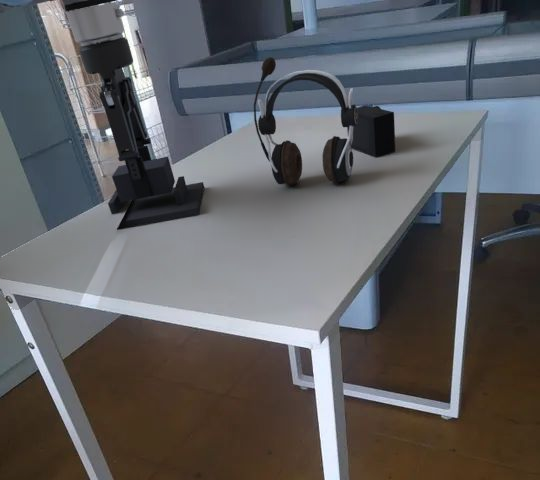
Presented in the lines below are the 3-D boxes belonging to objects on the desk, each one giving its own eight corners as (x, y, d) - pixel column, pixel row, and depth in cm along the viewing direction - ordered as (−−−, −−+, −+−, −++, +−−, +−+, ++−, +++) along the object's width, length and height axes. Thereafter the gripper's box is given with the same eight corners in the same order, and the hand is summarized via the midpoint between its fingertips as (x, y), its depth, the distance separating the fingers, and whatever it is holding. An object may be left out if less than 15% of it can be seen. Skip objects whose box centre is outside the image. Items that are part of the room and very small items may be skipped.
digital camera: (401, 150, 101) (400, 109, 97) (376, 157, 100) (373, 117, 96) (372, 140, 109) (370, 103, 105) (348, 147, 108) (345, 110, 104)
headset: (258, 194, 94) (235, 66, 83) (272, 179, 100) (252, 56, 89) (356, 189, 88) (345, 49, 77) (365, 173, 94) (356, 41, 83)
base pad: (95, 233, 92) (87, 212, 90) (112, 205, 104) (105, 186, 102) (199, 214, 91) (193, 193, 89) (204, 188, 103) (199, 168, 101)
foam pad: (120, 202, 94) (111, 176, 91) (126, 191, 99) (118, 166, 96) (171, 192, 93) (163, 166, 90) (175, 181, 98) (168, 156, 95)
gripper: (113, 41, 74) (161, 205, 88) (136, 30, 90) (174, 170, 103) (60, 52, 75) (116, 213, 88) (92, 39, 90) (136, 177, 104)
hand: (147, 190), depth 96 cm, fingers closed on foam pad, 6 cm apart
